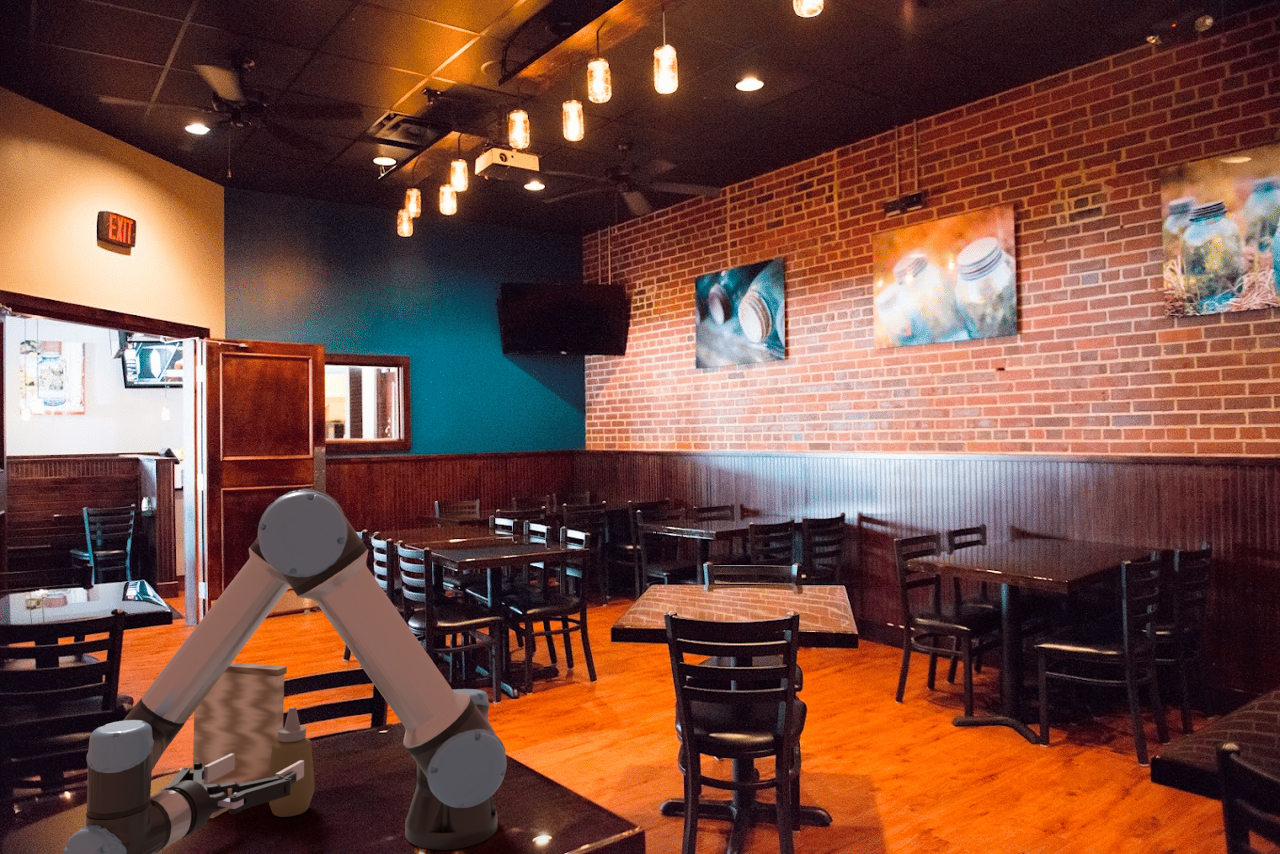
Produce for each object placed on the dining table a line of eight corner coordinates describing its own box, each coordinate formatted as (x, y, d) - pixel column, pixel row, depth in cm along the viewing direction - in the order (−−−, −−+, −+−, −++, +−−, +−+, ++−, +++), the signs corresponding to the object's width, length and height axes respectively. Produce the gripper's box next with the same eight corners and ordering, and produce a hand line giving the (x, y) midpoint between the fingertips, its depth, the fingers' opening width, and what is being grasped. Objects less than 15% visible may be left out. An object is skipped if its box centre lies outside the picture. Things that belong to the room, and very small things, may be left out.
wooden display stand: (284, 792, 160) (286, 666, 161) (234, 820, 147) (237, 684, 148) (199, 782, 165) (203, 660, 166) (144, 809, 152) (148, 677, 153)
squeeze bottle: (297, 822, 147) (299, 716, 148) (255, 818, 148) (257, 713, 149) (323, 804, 155) (325, 703, 155) (283, 800, 156) (285, 700, 157)
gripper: (101, 831, 129) (204, 780, 149) (245, 849, 123) (331, 794, 144) (103, 780, 129) (205, 736, 150) (246, 796, 123) (332, 748, 144)
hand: (267, 764), depth 147 cm, fingers open, 13 cm apart
